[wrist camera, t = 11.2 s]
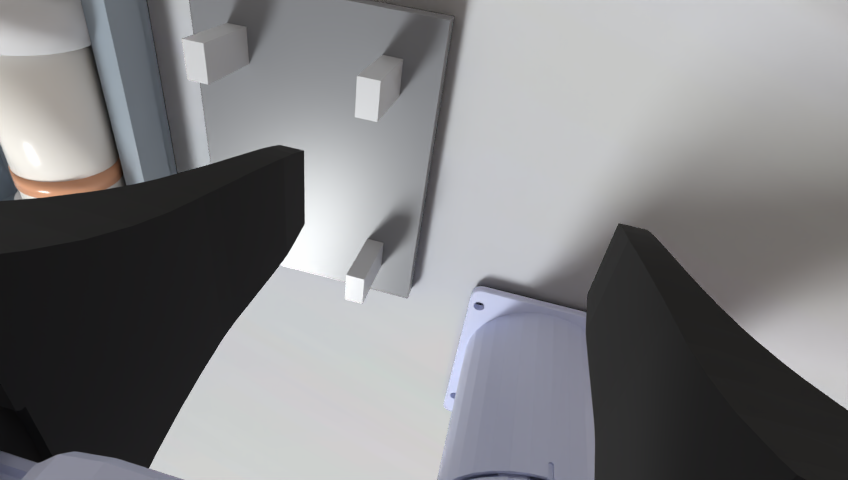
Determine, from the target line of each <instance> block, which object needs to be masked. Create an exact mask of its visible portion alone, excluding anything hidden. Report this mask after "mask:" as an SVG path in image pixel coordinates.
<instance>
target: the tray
mask: <svg viewBox="0 0 848 480" xmlns="http://www.w3.org/2000/svg"><path fill="white" fill-rule="evenodd" d="M81 4H82V8H83V12H84V16H85V20H86V24H87V28H88V33H89V37H90V41H91V46H92V50H93V54H94V58H95V62H96V66H97V70H98V74H99V78H100V82H101V86H102V90H103V94H104V98H105V102H106V106H107V110H108V114H109V118H110V122H111V126H112V130H113V134H114V138H115V142H116V147H117V150H118V153H119V157H120V161H121V165H122V170H123V174H124V178H125V182H126V185H132V184H137V183H141V182H146V181H150V180H154V179H159V178H162V177H166V176H170V175H173V174H177V170H176V165H175V159H174V154H173V148H172V142H171V137H170V131H169V125H168V120H167V114H166V108H165V103H164V97H163V91H162V86H161V80H160V75H159V69H158V63H157V58H156V52H155V46H154V41H153V35H152V29H151V24H150V18H149V12H148V7H147V1H146V0H81ZM8 165H9V164H8V162H7V159H6V157H5V154H4V152H3V149H2V147H1V144H0V201H6V200H14V197H15V194H16V192H17V191H18V189H17V188H16V186H15V184H14V181H13V179H12V176H11V174H10V171H9V168H8Z"/></svg>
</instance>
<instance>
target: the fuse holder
mask: <svg viewBox="0 0 848 480" xmlns="http://www.w3.org/2000/svg"><path fill="white" fill-rule="evenodd" d="M189 4H190V12H191V19H192V27H193V34H194V35H191V36H188V37H185V38H182V46H183V53H184V60H185V67H186V74H187V80H189V81H194V82H198V83H200V88H201V95H202V103H203V111H204V118H205V126H206V133H207V141H208V149H209V156H210V164H213V163H216V162H219V161H222V160H226V159H229V158H232V157H235V156H238V155H242V154H245V153H248V152H252V151H255V150H259V149H262V148H266V147H270V146H276V145H282V146H287V147H291V148H295V149H300V150H304V187H305V224H304V226H303V228H302V230H301V232H300V234H299V236H298V237H297V239H296V241H295V243H294V245H293V246H292V248H291V250H290V251H289V253H288V255H287V256H286V258H285V259H284V260H283V262H282V263H281V264H280V265H281V266H284V267H288V268H292V269H296V270H300V271H304V272H307V273H311V274H315V275H319V276H323V277H327V278H331V279H334V280H338V281H342V282H346V287H345V300H349V301H353V302H356V303H360V304H363V302H364V300H365V298H366V296H367V294H368V292H369V290H370V289H373V290H377V291H381V292H384V293H388V294H392V295H396V296H400V297H404V298H408V296H409V293H410V291H411V288H412V282H413V275H414V269H415V263H416V256H417V250H418V243H419V237H420V231H421V224H422V218H423V212H424V205H425V199H426V193H427V186H428V180H429V174H430V167H431V161H432V155H433V148H434V142H435V135H436V129H437V123H438V116H439V110H440V104H441V97H442V91H443V85H444V78H445V72H446V66H447V59H448V53H449V47H450V40H451V34H452V28H453V21H454V16H450V15H445V14H440V13H435V12H429V11H424V10H419V9H414V8H409V7H404V6H398V5H393V4H388V3H383V2H378V1H373V0H189Z"/></svg>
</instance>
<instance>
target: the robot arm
mask: <svg viewBox="0 0 848 480" xmlns="http://www.w3.org/2000/svg"><path fill="white" fill-rule="evenodd" d="M304 224H305V187H304V150H300V149H295V148H291V147H287V146H282V145H276V146H270V147H266V148H262V149H259V150H255V151H252V152H248V153H245V154H242V155H238V156H235V157H232V158H229V159H226V160H222V161H219V162H216V163H213V164H209V165H206V166H203V167H199V168H196V169H192V170H188V171H184V172H181V173H177V174H173V175H170V176H166V177H162V178H159V179H154V180H150V181H146V182H141V183H137V184H132V185H126V186H121V187H116V188H110V189H105V190H98V191H92V192H84V193H75V194H67V195H59V196H51V197H43V198H33V199H19V200H6V201H0V480H183V479H180V478H177V477H174V476H171V475H167V474H164V473H161V472H158V471H155V470H152V469H149V467H150V465H151V463H152V461H153V459H154V457H155V455H156V453H157V451H158V449H159V447H160V446H161V444H162V442H163V440H164V438H165V436H166V435H167V433H168V431H169V429H170V427H171V425H172V424H173V422H174V420H175V418H176V416H177V414H178V412H179V411H180V409H181V407H182V405H183V404H184V402H185V400H186V399H187V397H188V395H189V393H190V392H191V390H192V388H193V387H194V385H195V383H196V381H197V380H198V378H199V376H200V375H201V373H202V371H203V370H204V368H205V366H206V365H207V363H208V362H209V360H210V358H211V357H212V355H213V354H214V352H215V350H216V349H217V347H218V346H219V344H220V342H221V341H222V339H223V338H224V336H225V335H226V333H227V332H228V331H229V329H230V328H231V326H232V325H233V324H234V322H235V321H236V320H237V318H238V317H239V316H240V315H241V313H242V312H243V311H244V310H245V308H246V307H247V306H248V305H249V303H250V302H251V301H252V300H253V298H254V297H255V296H256V295H257V293H258V292H259V291H260V290H261V288H262V287H263V286H264V285H265V283H266V282H267V281H268V280H269V278H270V277H271V276H272V274H273V273H274V272H275V271H276V269H277V268H278V267H279V265H280V264H281V263H282V262H283V260H284V259H285V258H286V256H287V255H288V253H289V251H290V250H291V248H292V246H293V245H294V243H295V241H296V239H297V237H298V236H299V234H300V232H301V230H302V228H303V226H304ZM476 302H481V303H483V305H478V304H476ZM444 407H445V408H446V409H447V410H448V411H451V412H452V414H451V418H450V423H449V427H448V432H447V437H446V441H445V446H444V450H443V455H442V460H441V464H440V469H439V473H438V478H437V480H848V410H846V409H845V408H844V407H842V406H841V405H839V404H838V403H836V402H835V401H834V400H832V399H831V398H830V397H828V396H827V395H825V394H824V393H823V392H821V391H820V390H818V389H817V388H816V387H814V386H813V385H811V384H810V383H809V382H807V381H806V380H804V379H803V378H802V377H801V376H799V375H798V374H797V373H795V372H794V371H793V370H791V369H790V368H789V367H787V366H786V365H785V364H784V363H782V362H781V361H780V360H779V359H778V358H776V357H775V356H774V355H773V354H772V353H770V352H769V351H768V350H767V349H766V348H764V347H763V346H762V345H761V344H760V343H758V342H757V341H756V340H755V339H754V338H753V337H751V336H750V335H749V334H748V333H747V332H746V331H745V330H744V329H742V328H741V327H740V326H739V325H738V324H737V323H736V322H735V321H734V320H733V319H732V318H731V317H730V316H729V315H728V314H727V313H726V312H725V311H724V310H723V309H722V308H721V307H720V306H719V305H717V304H716V302H715V301H714V300H713V299H712V298H711V297H710V296H709V295H708V294H707V293H706V292H705V291H704V290H703V289H702V288H701V287H700V286H699V285H698V284H697V283H696V282H695V280H694V279H693V278H692V277H691V276H690V275H689V274H688V273H687V272H686V271H685V270H684V268H683V267H682V266H681V265H680V264H679V263H678V262H677V261H676V259H675V258H674V257H673V256H672V255H671V254H670V253H669V252H668V251H667V249H666V248H665V247H664V246H663V245H662V244H661V243H660V242H659V241H658V240H657V239H656V238H655V237H654V236H653V235H652V234H651V233H650V232H649V231H648V230H645V229H641V228H636V227H632V226H628V225H623V224H618V226H617V228H616V231H615V233H614V235H613V238H612V240H611V242H610V244H609V247H608V249H607V251H606V254H605V256H604V258H603V260H602V263H601V265H600V267H599V270H598V272H597V274H596V276H595V279H594V281H593V283H592V286H591V288H590V290H589V292H588V297H587V312H583V311H579V310H575V309H571V308H567V307H564V306H560V305H556V304H552V303H548V302H544V301H540V300H536V299H532V298H528V297H524V296H520V295H516V294H512V293H508V292H504V291H500V290H496V289H492V288H488V287H484V286H478V287H475V288H474V289H473V290H472V293H471V297H470V301H469V305H468V309H467V313H466V317H465V321H464V325H463V329H462V333H461V337H460V341H459V344H458V348H457V352H456V356H455V360H454V364H453V368H452V372H451V376H450V380H449V384H448V388H447V392H446V396H445V400H444Z"/></svg>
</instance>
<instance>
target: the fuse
mask: <svg viewBox="0 0 848 480" xmlns="http://www.w3.org/2000/svg"><path fill="white" fill-rule="evenodd" d="M0 144H1V147H2V149H3V152H4V154H5V157H6V159H7V162H8V164H9V165H8V168H9V171H10V174H11V176H12V179H13V181H14V184H15V186H16V188H17V189H18V191H17V192H16V194H15V197H14V200H19V199H33V198H43V197H51V196H59V195H67V194H75V193H84V192H92V191H98V190H105V189H110V188H116V187H121V186H126V182H125V178H124V174H123V170H122V165H121V161H120V157H119V153H118V150H117V147H116V142H115V138H114V134H113V130H112V126H111V122H110V118H109V114H108V110H107V106H106V102H105V98H104V94H103V90H102V86H101V82H100V78H99V74H98V70H97V66H96V62H95V58H94V54H93V50H92V46H91V41H90V37H89V33H88V28H87V24H86V20H85V16H84V12H83V8H82V4H81V0H0Z"/></svg>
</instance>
